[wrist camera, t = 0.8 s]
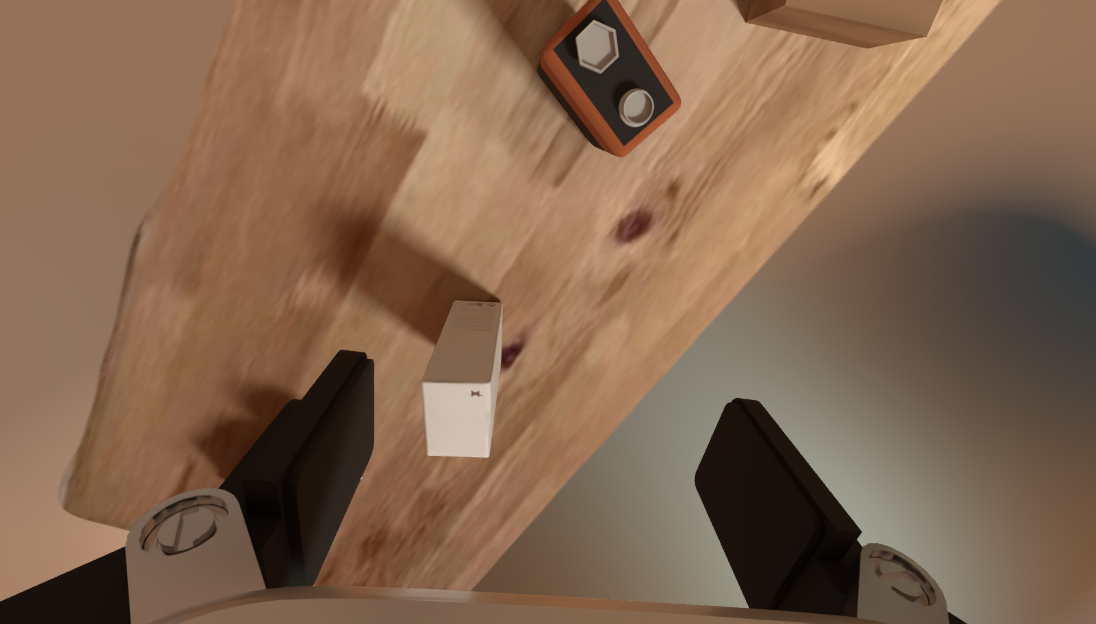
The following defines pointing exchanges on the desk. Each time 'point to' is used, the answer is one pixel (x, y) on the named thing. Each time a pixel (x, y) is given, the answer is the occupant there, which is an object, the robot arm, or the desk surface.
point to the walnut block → (848, 19)
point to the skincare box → (463, 381)
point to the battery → (607, 78)
